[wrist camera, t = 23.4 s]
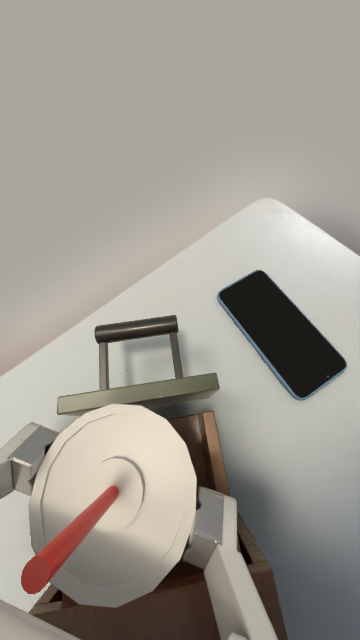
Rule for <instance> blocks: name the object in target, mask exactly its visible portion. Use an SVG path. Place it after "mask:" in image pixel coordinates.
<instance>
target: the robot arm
mask: <svg viewBox="0 0 360 640" xmlns="http://www.w3.org/2000/svg"><path fill="white" fill-rule="evenodd" d="M59 434H60V433H59V432H56V431H54V430H51V429H48V428H46V427H43V426H41V425H38V424H36V423H33V422H31V423H29V424H28V425H26V426H25V427H24V428H23V429H22V430H21V431H20V432H19V433H17V434H16V435H15V436H14V437H13V438H12V439H11V440H10V441H9V442H8V443H7V444H5V445H4V446H3V447H2V448H1V449H0V499H1V498H3V497H5V496H6V495H8V494H9V493H11V492H13V491H14V490H16V491H19V492H22V493H24V494H27V495H30V496H31V494H32V490H33V486H34V483H35V479H36V475H37V472H38V470H39V468H40V466H41V464H42V462H43V460H44V457H45V455H46V454H47V452H48V451H49V449H50V447H51V446H52V444H53V443H54V441H55V439H56V438H57V436H58V435H59ZM13 489H14V490H13ZM182 560H183V561H186V562H188V563H190V564H192V565H194V566H196V567H199V568H201V569H203V570H204V575H205V579H206V583H207V587H208V591H209V595H210V599H211V603H212V607H213V611H214V615H215V618H216V622H217V626H218V630H219V634H220V638H221V640H278V638H277V636H276V634H275V631H274V629H273V627H272V624H271V622H270V620H269V617H268V615H267V613H266V610H265V608H264V606H263V603H262V601H261V599H260V596H259V594H258V591H257V589H256V587H255V584H254V582H253V580H252V577H251V575H250V573H249V570H248V568H247V566H246V563H245V561H244V559H243V556H242V554H241V553H240V552H238V551H237V502H236V499H235V498H232V497H230V496H227V495H224V494H222V493H220V492H217V491H214V490H211V489H208V488H205V487H203V486H200V485H199V486H198V489H197V492H196V513H195V515H194V519H193V523H192V527H191V531H190V535H189V537H188V540H187V543H186V545H185V548H184V551H183V556H182ZM0 640H81V639H79V638H77V637H75V636H73V635H71V634H69V633H67V632H65V631H63V630H61V629H59V628H57V627H55V626H53V625H51V624H49V623H47V622H45V621H43V620H41V619H39V618H37V617H35V616H33V615H31V614H29V613H27V612H25V611H23V610H21V609H19V608H17V607H15V606H13V605H10V604H8V603H6V602H4V601H2V600H0Z"/></svg>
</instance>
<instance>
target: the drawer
mask: <svg viewBox="0 0 360 640" xmlns="http://www.w3.org/2000/svg"><path fill="white" fill-rule="evenodd" d="M176 333H178V324H177V318H176V315H172V316H164V317H157V318H150V319H143V320H136V321H129V322H122V323H115V324H108V325H101V326H96V328H95V338H96V341H97V343H98V344H99V370H100V391H93V392H87V393H80V394H74V395H67V396H61V397H58V406H57V414H58V415H76V416H82V415H83V414H84V413H87V412H90V411H93V410H96V409H99V408H102V407H104V406H107V405H110V404H124V405H139V406H143V407H145V408H152V407H158V406H164V405H171V404H177V403H183V402H190V401H196V400H202V399H208V398H209V397H211V396H212V395H213V394H214V393H215V392H216V391H218V390H219V384H218V379H217V374H216V373H210V374H203V375H197V376H191V377H184V378H183V373H182V367H181V360H180V353H179V347H178V340H177V334H176ZM167 334H170V341H171V349H172V356H173V363H174V370H175V377H176V379H171V380H165V381H158V382H152V383H145V384H139V385H132V386H126V387H119V388H113V389H109V367H108V344H107V343H112V342H119V341H126V340H133V339H139V338H146V337H153V336H160V335H167ZM167 420H168V422H169V423H170V424H171V425H172V427H173V428H174V429H175V430H176V432H177V433H178V434H179V436H180V437H181V438H182V439H183V441H184V442H185V443H186V446H187V449H188V452H189V455H190V458H191V462H192V465H193V468H194V471H195V474H196V478H197V484H196V492H197V489H198V486H199V485H200V486H203V487H205V488H208V489H211V490H214V491H217V492H220V493H222V494H224V495H227V496H230V494H229V489H228V484H227V478H226V473H225V468H224V463H223V457H222V452H221V447H220V442H219V437H218V431H217V426H216V421H215V416H214V411H207V412H202V413H200V414H196V415H190V416H184V417H178V418H171V419H167ZM237 551H238V552H240V553H241V551H240V546H239V541H238V536H237ZM182 556H183V553H182ZM182 556H181V559H180V560H179V561H178V562H177V563H176V565H175V566H174V567H173V568H172V569H171V570H170V572H169V573H168V574H167V575H166V576H165V577H164V578H163V580H162V581H167V580H172V579H178V578H183V577H188V576H193V575H198V574H204V570H203V569H201V568H199V567H196V566H194V565H192V564H190V563H188V562H186V561H183V560H182ZM162 581H161V582H162ZM69 599H71V598H70V597H69V596H67V595H66V594H65V593H63V592H62V601H64V600H69Z"/></svg>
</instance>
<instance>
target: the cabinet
mask: <svg viewBox="0 0 360 640" xmlns="http://www.w3.org/2000/svg"><path fill="white" fill-rule="evenodd" d="M237 536H238V541H239V546H240V551H241V554H242V556H243V559H244V561H245V563H246V566H247V568H248V570H249V573H250V575H251V577H252V580H253V582H254V584H255V587H256V589H257V591H258V594H259V596H260V599H261V601H262V603H263V606H264V608H265V610H266V613H267V615H268V617H269V620H270V622H271V624H272V627H273V629H274V631H275V634H276V636H277V638H278V640H288V638H287V634H286V629H285V625H284V620H283V616H282V612H281V607H280V603H279V598H278V594H277V590H276V585H275V581H274V576H273V572H272V569H271V567H270V566H269V564H268V562H267V560H266V559H265V557H264V555H263V554H262V552H261V550H260V548H259V547H258V545H257V543H256V542H255V540H254V538H253V537H252V535H251V533H250V532H249V530H248V528H247V526H246V525H245V523H244V521H243V520H242V518H241V516H240V515H239V513H238V511H237ZM29 614H31V615H33V616H35V617H37V618H39V619H41V620H43V621H45V622H47V623H49V624H51V625H53V626H55V627H57V628H59V629H61V630H63V631H65V632H67V633H69V634H71V635H73V636H75V637H77V638H79V639H81V640H221V638H220V634H219V630H218V626H217V622H216V618H215V615H214V611H213V607H212V603H211V599H210V595H209V591H208V587H207V583H206V579H205V575H204V574H198V575H193V576H188V577H183V578H178V579H172V580H167V581H162V582H160V583H159V584H158V585H157V587H156V588H155V589H154V590H153V591H152V592H149V593H147V594H145V595H143V596H141V597H139V598H136V599H134V600H132V601H130V602H128V603H126V604H123V605H121V606H119V607H117V608H114V607H103V606H92V605H82V604H78V603H77V602H75V601H74V600H73V599H69V600H64V601H62V591H61V590H59V589H58V588H57V587H55V586H54V585H53V584H51V585H50V586H49V587H48V589H47V590H46V591H45V592H44V594H43V595H42V596H41V597H40V599H39V600H38V601H37V602H36V604H35V605H34V607H33V608H32V609H31V610H30V611H29Z"/></svg>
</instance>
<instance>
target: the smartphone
mask: <svg viewBox="0 0 360 640" xmlns="http://www.w3.org/2000/svg"><path fill="white" fill-rule="evenodd" d="M217 299H218V301H219V303H220V304H221V305H222V307H223V308H224V309H225V310H226V312H227V313H228V314H229V316H230V317H231V318H232V319H233V321H234V322H235V323H236V325H237V326H238V327H239V328H240V330H241V331H242V332H243V334H244V335H245V336H246V337H247V339H248V340H249V341H250V343H251V344H252V345H253V346H254V348H255V349H256V350H257V352H258V353H259V354H260V355H261V357H262V358H263V360H264V361H265V362H266V363H267V364H268V366H269V367H270V368H271V370H272V371H273V372H274V373H275V375H276V376H277V377H278V379H279V380H280V381H281V383H282V384H283V385H284V386H285V387H286V389H287V390H288V391H289V393H290V394H291V395H292V396H293V397H294V398H296V399H298V400H304V399H307V398H309V397H310V396H311V395H313V394H314V393H315V392H317V391H318V390H319V389H321V388H322V387H323V386H325V385H326V384H327V383H329V382H330V381H332V380H333V379H334V378H336V377H337V376H338V375H340V374H341V373H342V372H343V371H344V370H345V369H346V367H347V362H346V360H345V359H344V357H343V356H342V355H341V354H340V353H339V352H338V351H337V350H336V349H335V348H334V346H333V345H332V344H331V343H330V342H329V341H328V340H327V339H326V338H325V337H324V336H323V335H322V333H321V332H320V331H319V330H318V329H317V328H316V327H315V326H314V325H313V324H312V323H311V321H310V320H309V319H308V318H307V317H306V316H305V315H304V314H303V313H302V312H301V311H300V310H299V308H298V307H297V306H296V305H295V304H294V303H293V302H292V301H291V300H290V299H289V298H288V297H287V295H286V294H285V293H284V292H283V291H282V290H281V289H280V288H279V287H278V286H277V285H276V284H275V282H274V281H273V280H272V279H271V278H270V277H269V276H268V275H267V274H266V273H265V272H264V271H262V270H256V271H254V272H252V273H250V274H248V275H246V276H245V277H243V278H241V279H239V280H238V281H236V282H234V283H232V284H231V285H229V286H227V287H225V288H224V289H222V290H221V291H219V293H218V295H217Z"/></svg>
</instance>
